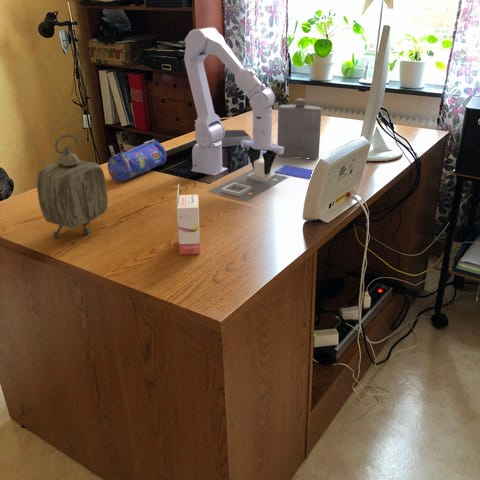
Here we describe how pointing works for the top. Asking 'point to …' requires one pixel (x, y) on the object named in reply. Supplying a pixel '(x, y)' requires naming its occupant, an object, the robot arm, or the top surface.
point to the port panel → (247, 185)
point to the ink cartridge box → (188, 223)
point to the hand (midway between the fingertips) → (261, 172)
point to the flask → (299, 130)
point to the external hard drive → (234, 137)
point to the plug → (259, 169)
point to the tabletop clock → (71, 190)
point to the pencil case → (136, 160)
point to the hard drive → (295, 171)
